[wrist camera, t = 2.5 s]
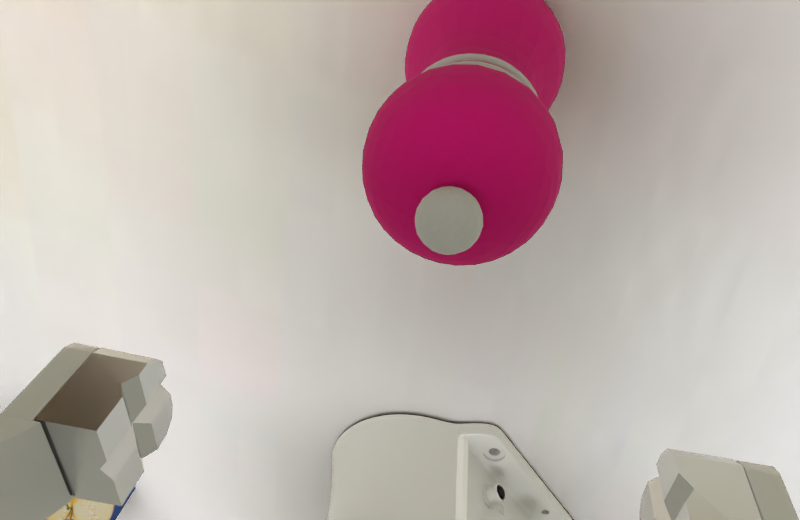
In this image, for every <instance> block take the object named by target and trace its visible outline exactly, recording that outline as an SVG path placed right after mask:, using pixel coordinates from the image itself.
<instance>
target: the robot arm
mask: <svg viewBox="0 0 800 520" xmlns="http://www.w3.org/2000/svg"><path fill="white" fill-rule="evenodd" d="M165 377H166V373H165V369H164V366H163V362H162V361H160V360H157V359H154V358H149V357H144V356H139V355H134V354H129V353H125V352H120V351H115V350H110V349H105V348H98V347H93V346H88V345H83V344H78V343H73V344H70V345H68V346H66V347H64V348H63V349H62V350H61V351H60V352H59V353H58V354H57V355H56V356H55V357H54V358H53V359H52V360H51V361H50V363H49V364H48V365H47V366H46V367H45V368H44V369H43V370H42V371H41V372H40V373H39V374H38V375H37V376H36V377H35V378H34V379H33V380H32V381H31V382H30V384H29V385H28V386H27V387H26V388H25V389H24V390H23V391H22V392H21V393H20V394H19V395H18V396H17V397H16V398H15V399H14V400H13V401H12V402H11V404H10V405H9V406H8V407H7V408H6V409H5V410H4V411H3V412H2V413H1V414H0V520H46V519H47V518H48V517H50V516H51V515H53V514H54V513H55V512H57V511H58V510H60V509H61V508H62V507H64V506H65V505H67V504H68V503H69V502H71V501H72V498H78V499H84V500H89V501H95V502H101V503H106V504H112V505H118V506H122V505H123V504H124V502H125V500H126V499H127V497H128V496H129V494H130V492H131V491H132V489H133V488H134V486H135V484H136V483H137V481H138V480H139V478H140V477H141V475H142V473H143V472H144V469H143V462H142V458H143V457H145V456H147V455H148V454H150V453H152V452H154V451H155V450H157V449H158V448H159V446H160V444H161V443H162V441H163V439H164V438H165V436H166V434H167V431H168V428H169V425H170V422H171V419H172V400H171V395H170V393H169V392H168V391H167V390H166V389H165V388H164V387H163V386H162V385H161V382H162V381H163V380H164V378H165ZM657 468H658V473H659V477H657V478H655V479H653V480H651V481H649V482H648V483H647V485H646V488H645V490H644V493H643V495H642V500H641V507H640V520H799V519H798V516H797V514H796V511H795V509H794V507H793V504H792V502H791V499H790V497H789V494H788V492H787V490H786V487H785V485H784V482H783V480H782V478H781V475H780V473H779V472H778V471H777V470H776V469H775V468H774V467H772V466H766V465H760V464H754V463H748V462H743V461H735V460H733V459H727V458H721V457H715V456H709V455H703V454H697V453H691V452H685V451H679V450H673V449H667V450H665V451H664V452H663V453H662V454H661V456H660V458H659V460H658V462H657ZM71 497H72V498H71ZM327 520H573V519H572V518H571V517H570V516H569V514H568V513H567V512H566V511H565V509H564V508H563V507H562V506H561V504H560V503H559V502H558V501H557V499H556V498H555V497H554V496H553V494H552V493H551V492H550V491H549V489H548V488H547V487H546V486H545V484H544V483H543V482H542V481H541V479H540V478H539V477H538V476H537V474H536V473H535V472H534V471H533V469H532V468H531V467H530V466H529V464H528V463H527V462H526V461H525V459H524V458H523V457H522V456H521V454H520V453H519V452H518V451H517V449H516V448H515V447H514V446H513V444H512V443H511V442H510V441H509V439H508V438H507V437H506V436H505V434H504V433H503V432H502V431H501V430H500V429H499V428H498V427H496V426H494V425H490V424H483V423H467V424H455V423H449V422H444V421H440V420H436V419H432V418H428V417H423V416H417V415H405V414H395V415H384V416H378V417H373V418H370V419H366V420H364V421H361V422H359V423H357V424H355V425H353V426H352V427H350V428H349V429H347V430H346V431H345V432H344V433H343V434H342V435H341V436H340V437H339V439H338V440H337V442H336V444H335V446H334V449H333V453H332V489H331V499H330V506H329V513H328V519H327Z"/></svg>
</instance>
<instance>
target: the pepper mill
mask: <svg viewBox="0 0 800 520" xmlns="http://www.w3.org/2000/svg"><path fill="white" fill-rule="evenodd" d="M564 65H565V45H564V39H563V35H562V32H561V29H560V26H559V23H558V21H557V19H556V17H555V16H554V14H553V12H552V11H551V9H550V8H549V7H548V5H547V4H546V3H545V2H544V1H543V0H433V1H432V2H431V3H429V4H428V5H427V7H426V8H425V9H424V11H423V12H422V13H421V15H420V16H419V18H418V20H417V22H416V24H415V26H414V28H413V31H412V34H411V37H410V40H409V43H408V48H407V53H406V58H405V73H406V81H407V82H405V83H404V84H403V85H401V86H400V87H399V88H398V89H396V91H395V92H394V93H393V94H392V95H391V96H390V97H389V98H388V99H387V100H386V101H385V103H384V104H383V105H382V107H381V108H380V109H379V110H378V112H377V114H376V116H375V118H374V120H373V122H372V124H371V126H370V128H369V132H368V135H367V139H366V142H365V146H364V150H363V164H362V171H363V184H364V188H365V192H366V196H367V199H368V202H369V204H370V206H371V208H372V211H373V213H374V215H375V217H376V219H377V220H378V222H379V223H380V225H381V226H382V227H383V229H384V230H385V231H386V232H387V233H388V234H389V235H390V236H391V237H392V238H393V239H394V240H395V241H396V242H398V243H399V244H400V245H402V246H403V247H405V248H406V249H407V250H409V251H410V252H412V253H415V254H417V255H419V256H421V257H423V258H425V259H428V260H432V261H435V262H438V263H443V264H450V265H476V264H480V263H485V262H489V261H493V260H496V259H498V258H500V257H503V256H505V255H507V254H509V253H511V252H513V251H514V250H516V249H517V248H519V247H520V246H521V245H523V244H524V243H526V242H527V241H528V240H529V239H530V238H531V237H532V236H533V235H534V234H535V233H536V232H537V231H538V229H539V228H540V227H541V226H542V225H543V223H544V222H545V220H546V218H547V216H548V215H549V213H550V211H551V210H552V208H553V206H554V204H555V201H556V198H557V195H558V193H559V189H560V185H561V181H562V164H563V151H562V148H561V144H560V140H559V136H558V132H557V129H556V125H555V122H554V120H553V119H552V117H551V115H550V113H549V111H548V110H549V108H550V107H551V105H552V103H553V101H554V100H555V98H556V96H557V94H558V91H559V88H560V85H561V82H562V77H563V72H564Z"/></svg>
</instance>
